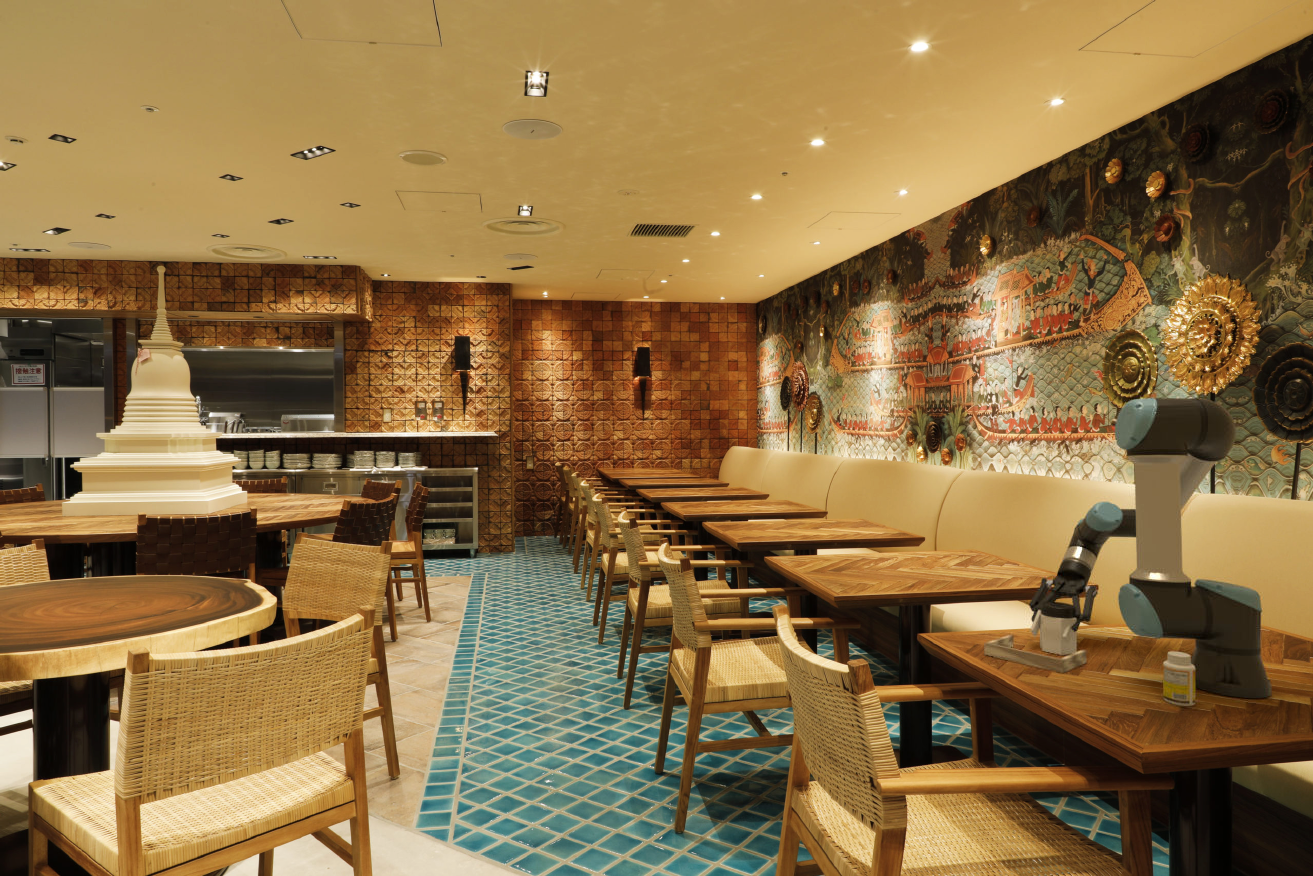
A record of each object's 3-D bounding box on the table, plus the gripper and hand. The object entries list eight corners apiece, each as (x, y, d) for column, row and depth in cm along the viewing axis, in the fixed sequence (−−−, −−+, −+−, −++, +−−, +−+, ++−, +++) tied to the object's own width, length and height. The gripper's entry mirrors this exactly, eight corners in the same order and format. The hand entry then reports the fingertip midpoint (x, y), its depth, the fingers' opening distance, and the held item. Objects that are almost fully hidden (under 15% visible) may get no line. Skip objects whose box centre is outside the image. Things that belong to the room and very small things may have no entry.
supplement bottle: (1180, 697, 159) (1180, 649, 159) (1202, 707, 153) (1202, 657, 153) (1156, 698, 158) (1156, 650, 158) (1177, 707, 153) (1177, 658, 153)
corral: (1009, 646, 198) (1009, 634, 198) (1086, 662, 184) (1086, 650, 184) (984, 655, 190) (984, 643, 190) (1062, 673, 175) (1062, 660, 175)
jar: (1037, 645, 200) (1037, 600, 200) (1071, 647, 197) (1071, 602, 197) (1043, 654, 191) (1043, 607, 191) (1078, 657, 188) (1079, 609, 188)
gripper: (1121, 582, 196) (1095, 654, 186) (1042, 570, 212) (1014, 636, 202) (1113, 564, 193) (1087, 636, 183) (1034, 554, 209) (1005, 620, 199)
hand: (1049, 636), depth 192 cm, fingers closed on jar, 7 cm apart
